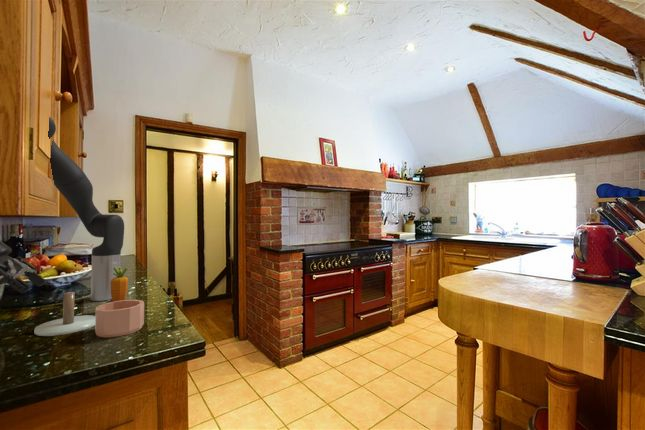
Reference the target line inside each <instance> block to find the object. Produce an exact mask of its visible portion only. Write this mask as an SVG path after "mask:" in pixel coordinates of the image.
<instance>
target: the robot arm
mask: <svg viewBox="0 0 645 430" xmlns="http://www.w3.org/2000/svg"><path fill="white" fill-rule="evenodd" d="M54 121H55V120H54V119H53V118H52V117H51V116H49V131H48V137H49V139H50V138H51V137H52V138H53V136H54V135H55V134H56V129H57V128H56V127H57V126H56V124H55V122H54ZM50 163H51V169H52V175H53V180H54V184H53V185H54V186H55V188H56V189H57V190H58V191H59V193H60V194H61V195H62V196H63V197H64V198H65V199H66V201H67V202H68V204H69V205H70V206H71V208H72V209H73V211H74V212H75V213H76V214H77V216H78V218H79V219H80V221H81V222H82V224H83V226H84V228H85V230H86V231H87V232H88V233H89V234H90V236H92V237H95V238H103V240H102V243H101V244H100V245H97V246H95V247H93V248H92V250H91V272H90V273H91V277H90V279H91V280H90V301H96V302H101V301H110V300H112V297H111V280H112V279H113V278H115V277H117V276H116V275H114V274H113V273H116V272H115V270H114V269H113V268H114V267H117V269H118V270H119V268H121V263H122V261H121V256H122V255H121V253H122V252H121V251H122V248H123V246H124V239H125V238H124V237H125V222H124V219H123V218H122V216H120V215H119V214H104V213H101V212H100V211H99V209H97V207H96V206H95V204H94V201H93V196H94V188H93V183H92V182H91V180H90V179H89V177H87V175H86V174H85V172H84V171H83V169H82V168H81V167H80V166H79V165H78V164H77V163H76V162H75V161H74V160H73V159H72V158H71V157H70V156H68V155H67V153H65V152H64V151H63V150H62V148H60V147H59V146H58V144H57V143H56V141H55V139H53V141H52V145H51V158H50ZM11 253H12V248H11V246H8V245H7V244H5V243H4V242H3V241H1V240H0V286H3V284H4V285H5V286H10V287H12V288H13V289H14V290H16V291H18V292H19V293H20V294H24V293H26V292H27V291H29V290H30V289H31V285H29V284H28V283H27V282H25V281H24V280H23V279H21V278H20V277H23V278H25V279H27V280H28V281H30V282H31V283H33V284H34V285H35V286H37V287H38V288H39V287H42V286H44V285H45V283H47V279H45V278H44V277H42V276H41V275H40V274H38V273H37V271H38V268H37V267H35V266H34V265H33V264H31V263H29V262H28V261H27V260H25V259H24V258H23V257H21V256H17V257H16V258H15V257H14V258H13V257H12V256H10V254H11ZM116 274H117V273H116Z"/></svg>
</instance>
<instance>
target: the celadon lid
mask: <svg viewBox="0 0 645 430" xmlns="http://www.w3.org/2000/svg"><path fill="white" fill-rule="evenodd" d="M75 293H76V292H75V291H68V292H64V293H63V300H62V301H63V302H62V303H63V306H62V307H63V309H62V317H61V318H57V319H53V320H50V321H46V322H43V323H41V324H39V325H36V326H35V327H34V332H33V333H34V335H36V336H39V337H52V336H53V337H54V336H61V335H68V334H73V333H76V332H81V331H85V330H88V329H90V328H93V327H95V315H92V314H91V315H87V314H86V315H75Z"/></svg>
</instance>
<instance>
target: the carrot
mask: <svg viewBox="0 0 645 430" xmlns="http://www.w3.org/2000/svg"><path fill="white" fill-rule="evenodd" d="M113 269H114V270H115V272H116V273H117V274H116V273H113V274H114V275H116V276H117V277H115V278H113V279H112V280H111V297H112V299H111V302H114V301H121V300H127V299H126V298H127V295H128V288H129V278H128V277H127V276H124V275H125V273H126V272H127V270H128V267H125V268H124V269H122V268H121V267H120V268H119V270H118V269H117V267H114V268H113Z"/></svg>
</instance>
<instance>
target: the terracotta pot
mask: <svg viewBox="0 0 645 430" xmlns="http://www.w3.org/2000/svg"><path fill="white" fill-rule="evenodd" d="M94 316H95V326H94V332H95V334H96V336H97V337H99V338H117V337H123V336H127V335H130V334H133V333H136V332H138V331H139V330H141V329H142V328H143V326H144V325H145V302H144V301H143V300H140V299H125V300H121V301H114V302H113V301H110V302H106V303H103V304H102V303H101V304H100V305H98V306H96V307H95V315H94Z"/></svg>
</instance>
